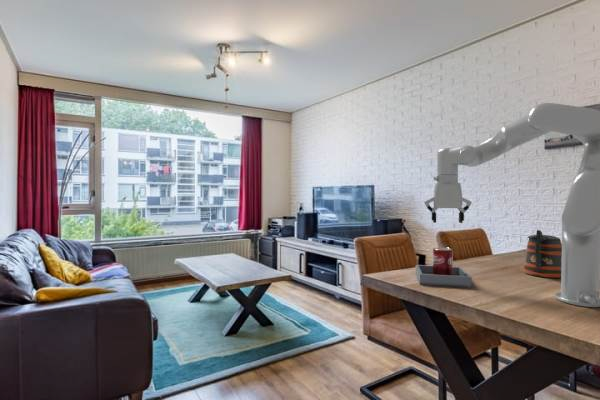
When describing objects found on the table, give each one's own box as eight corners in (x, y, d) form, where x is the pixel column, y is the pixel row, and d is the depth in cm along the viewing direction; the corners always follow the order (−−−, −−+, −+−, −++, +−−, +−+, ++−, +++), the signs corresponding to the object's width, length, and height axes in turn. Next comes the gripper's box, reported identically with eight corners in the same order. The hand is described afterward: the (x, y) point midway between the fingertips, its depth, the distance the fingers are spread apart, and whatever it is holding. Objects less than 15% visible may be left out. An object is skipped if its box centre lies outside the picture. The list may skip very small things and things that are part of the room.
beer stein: (562, 282, 132) (563, 232, 132) (518, 276, 142) (519, 229, 141) (566, 274, 146) (567, 228, 146) (526, 269, 156) (527, 226, 155)
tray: (471, 288, 123) (471, 277, 123) (419, 284, 128) (419, 274, 128) (460, 276, 141) (460, 267, 141) (415, 274, 145) (415, 264, 145)
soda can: (448, 276, 137) (448, 247, 137) (455, 281, 130) (455, 250, 130) (430, 276, 138) (430, 247, 138) (435, 280, 131) (436, 250, 130)
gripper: (425, 179, 132) (425, 223, 132) (473, 178, 128) (473, 223, 128) (423, 180, 139) (423, 221, 139) (468, 179, 135) (468, 222, 135)
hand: (447, 222), depth 133 cm, fingers open, 9 cm apart
